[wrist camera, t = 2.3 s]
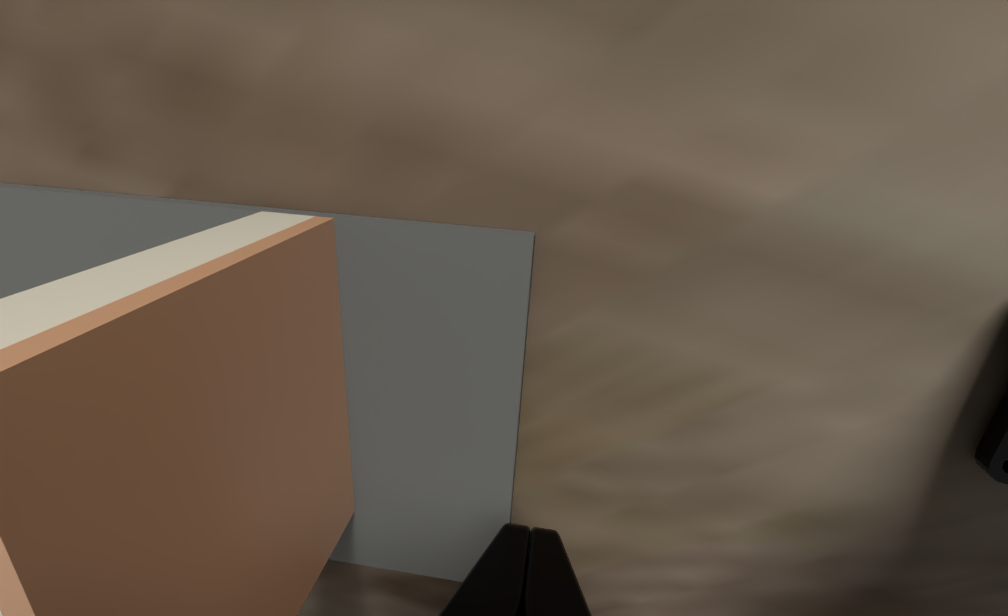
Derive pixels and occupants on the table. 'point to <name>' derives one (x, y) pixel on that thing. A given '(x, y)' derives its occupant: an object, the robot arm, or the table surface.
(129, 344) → the tile
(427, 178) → the table surface
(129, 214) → the mat
